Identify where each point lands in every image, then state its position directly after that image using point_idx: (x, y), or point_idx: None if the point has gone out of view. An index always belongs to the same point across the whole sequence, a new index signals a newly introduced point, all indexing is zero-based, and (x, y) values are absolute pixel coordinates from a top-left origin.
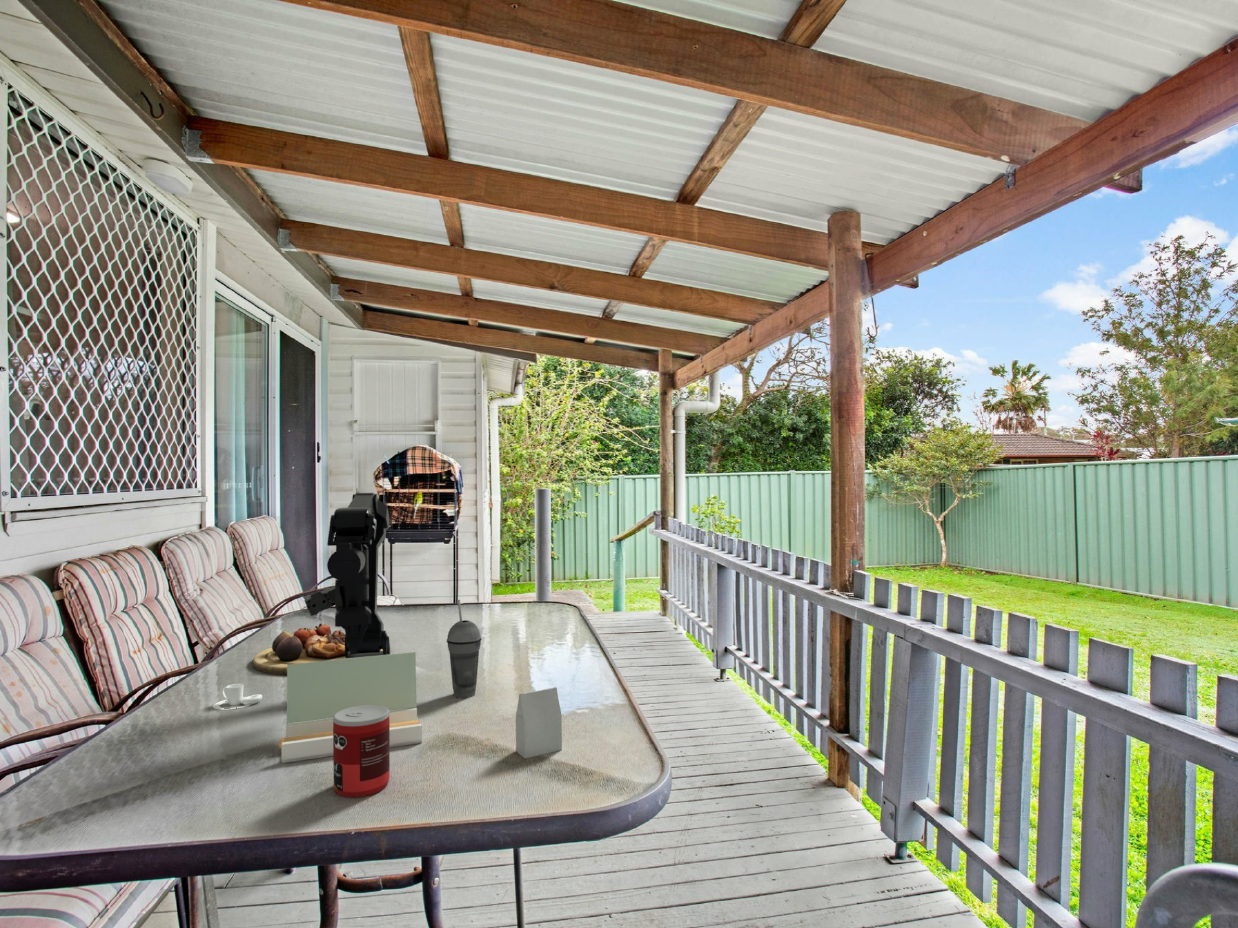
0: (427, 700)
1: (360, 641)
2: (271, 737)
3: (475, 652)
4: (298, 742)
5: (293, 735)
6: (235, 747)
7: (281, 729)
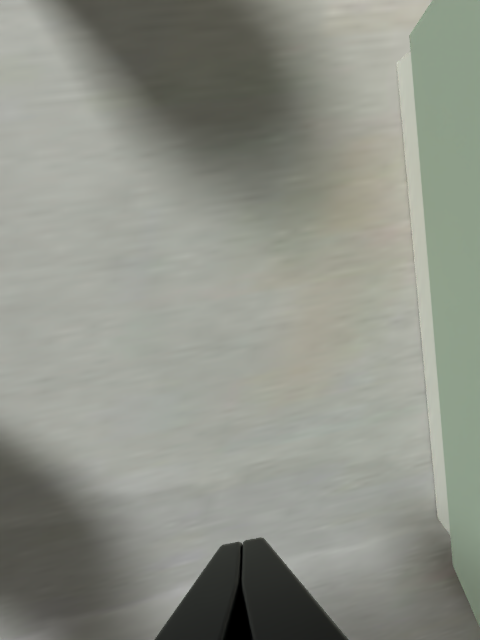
0: (56, 36)
1: (327, 619)
2: (384, 569)
3: None
4: None
5: None
6: (439, 634)
7: (316, 562)
